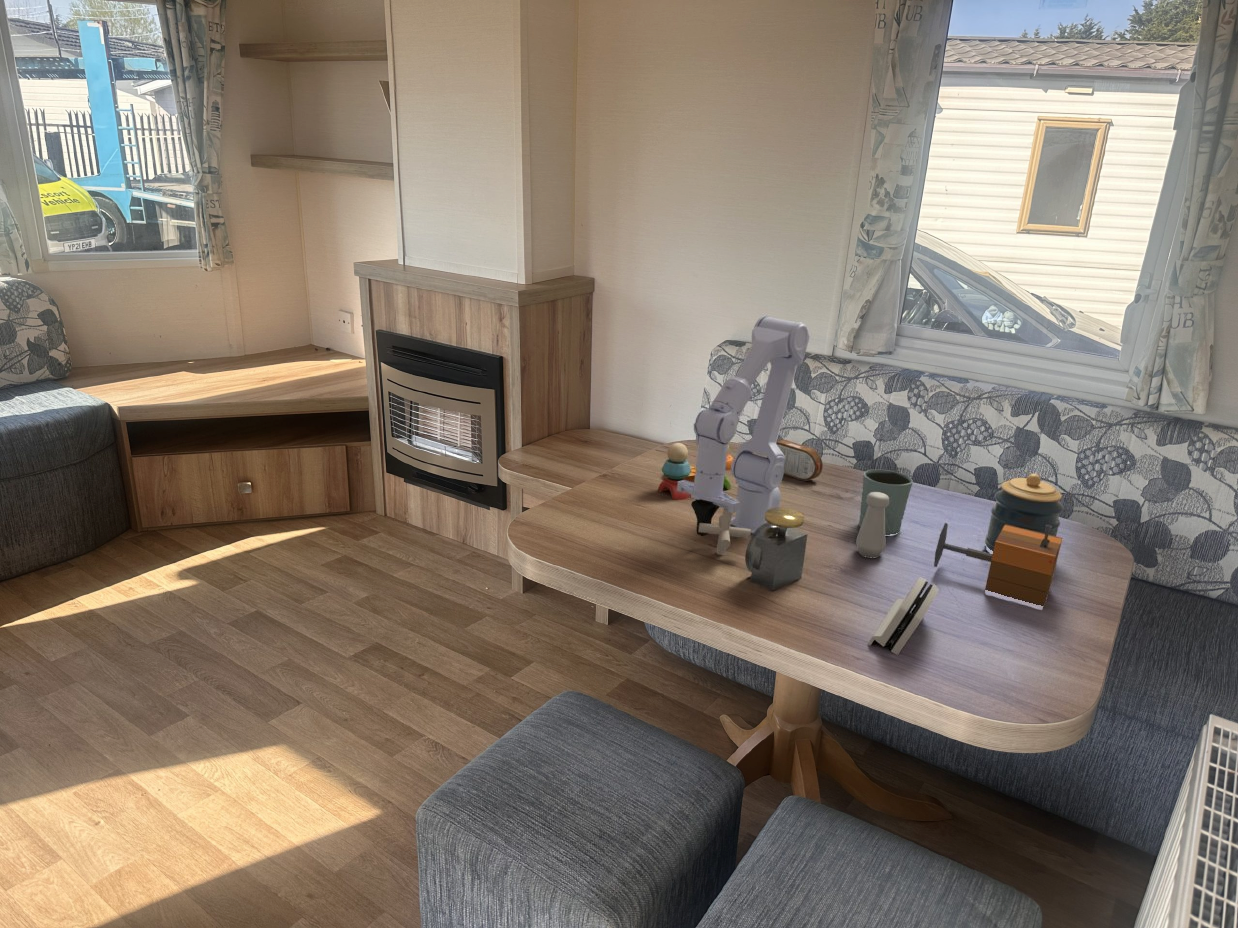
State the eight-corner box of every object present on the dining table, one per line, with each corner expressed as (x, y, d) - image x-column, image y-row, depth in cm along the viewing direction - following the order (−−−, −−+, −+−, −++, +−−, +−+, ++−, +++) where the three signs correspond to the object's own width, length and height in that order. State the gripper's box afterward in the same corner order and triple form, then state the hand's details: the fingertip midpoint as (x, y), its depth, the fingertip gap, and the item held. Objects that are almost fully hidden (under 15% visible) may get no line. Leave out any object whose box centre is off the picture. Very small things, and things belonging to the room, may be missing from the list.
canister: (1059, 555, 183) (1079, 476, 177) (1038, 573, 173) (1058, 490, 168) (997, 536, 191) (1013, 459, 185) (973, 552, 182) (990, 472, 176)
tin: (820, 483, 217) (825, 450, 214) (814, 485, 215) (818, 453, 212) (770, 466, 226) (774, 435, 224) (763, 469, 224) (766, 437, 221)
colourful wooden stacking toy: (686, 470, 220) (690, 422, 216) (738, 490, 208) (743, 440, 204) (633, 483, 209) (636, 433, 205) (684, 506, 197) (689, 453, 193)
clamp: (942, 561, 177) (955, 494, 172) (1049, 590, 167) (1066, 520, 162) (929, 580, 168) (942, 510, 163) (1042, 611, 158) (1059, 538, 154)
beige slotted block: (892, 605, 157) (920, 562, 152) (916, 620, 155) (945, 578, 151) (866, 645, 143) (897, 599, 138) (892, 662, 142) (924, 616, 137)
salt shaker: (886, 552, 179) (896, 492, 175) (881, 562, 174) (892, 501, 170) (857, 545, 181) (866, 486, 177) (851, 555, 176) (861, 495, 172)
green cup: (852, 531, 188) (860, 479, 184) (858, 516, 197) (866, 465, 193) (901, 541, 185) (910, 488, 181) (905, 525, 194) (914, 473, 190)
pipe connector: (747, 569, 169) (756, 524, 165) (695, 562, 169) (703, 517, 165) (744, 543, 178) (752, 499, 174) (695, 537, 178) (702, 493, 174)
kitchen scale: (775, 564, 170) (783, 502, 166) (807, 578, 165) (816, 515, 161) (742, 578, 163) (750, 514, 159) (775, 594, 158) (783, 527, 154)
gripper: (669, 463, 173) (663, 526, 177) (725, 485, 163) (717, 551, 167) (693, 457, 178) (686, 519, 182) (749, 478, 168) (741, 543, 172)
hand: (703, 534), depth 175 cm, fingers closed, pressing on pipe connector
